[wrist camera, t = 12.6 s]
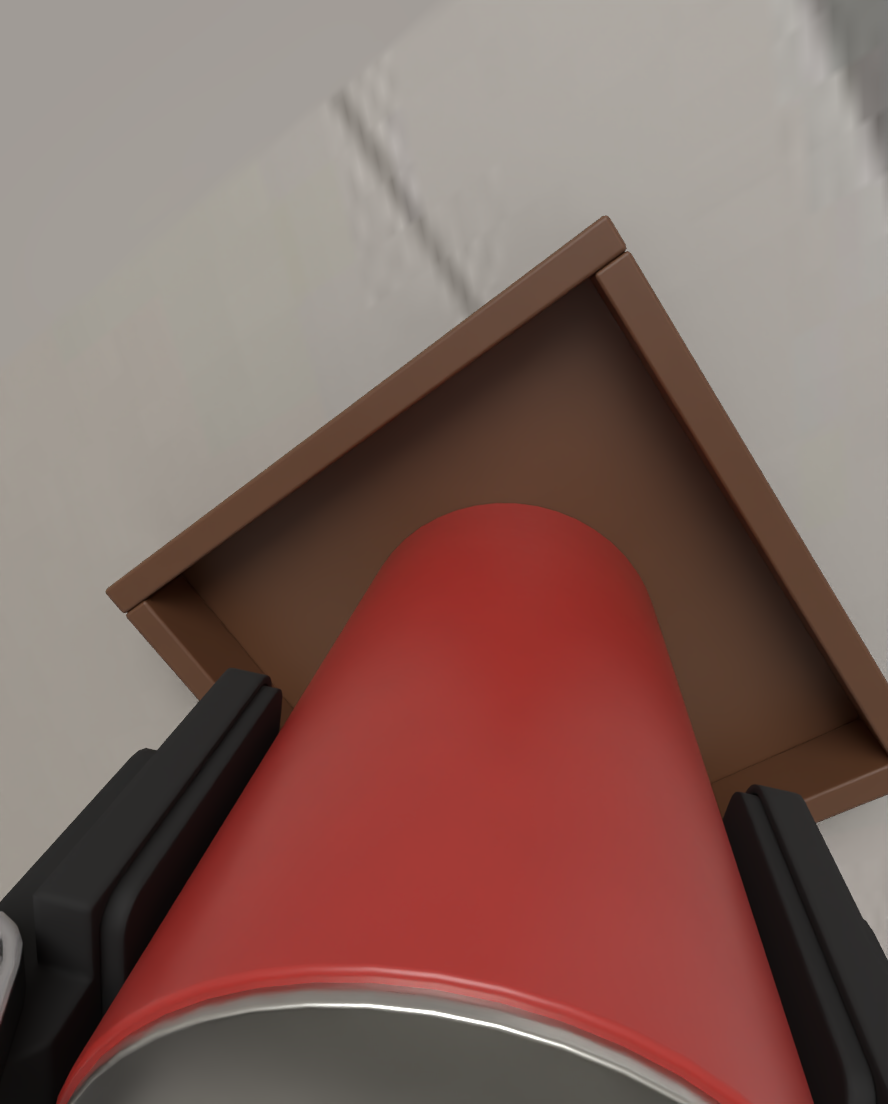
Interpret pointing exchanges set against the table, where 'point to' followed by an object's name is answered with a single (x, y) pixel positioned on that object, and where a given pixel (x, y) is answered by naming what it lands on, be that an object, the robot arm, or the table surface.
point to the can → (466, 866)
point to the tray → (560, 485)
